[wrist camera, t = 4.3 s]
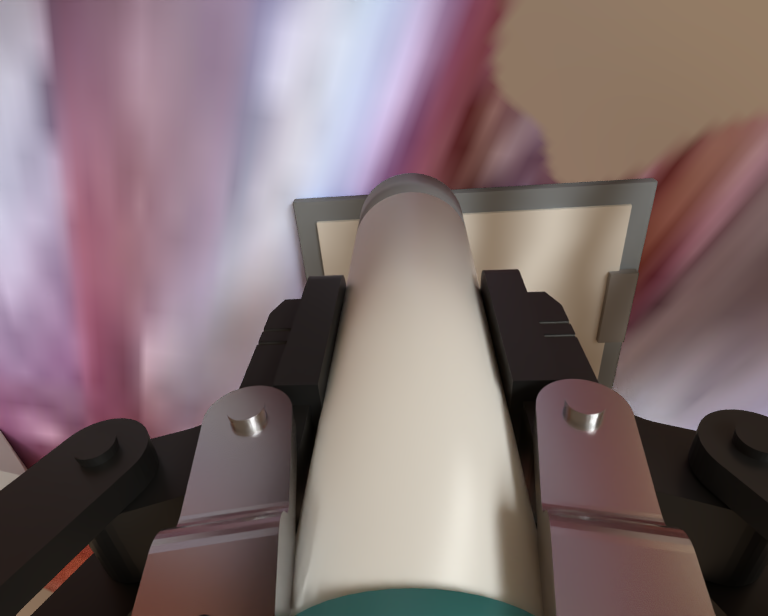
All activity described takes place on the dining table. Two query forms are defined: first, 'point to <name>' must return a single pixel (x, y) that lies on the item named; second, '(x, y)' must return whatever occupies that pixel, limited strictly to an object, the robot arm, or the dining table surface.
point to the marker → (415, 434)
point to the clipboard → (528, 248)
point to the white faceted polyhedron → (9, 463)
